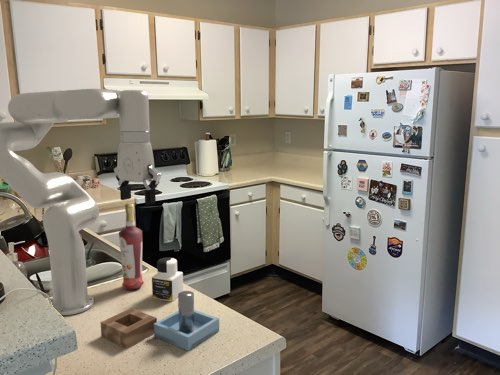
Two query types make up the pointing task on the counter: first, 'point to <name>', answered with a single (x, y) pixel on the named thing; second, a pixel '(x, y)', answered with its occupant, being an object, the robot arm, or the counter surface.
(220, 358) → the counter surface
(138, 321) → the hole block
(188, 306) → the peg
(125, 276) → the liquor
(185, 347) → the tray
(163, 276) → the medicine bottle
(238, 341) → the counter surface
